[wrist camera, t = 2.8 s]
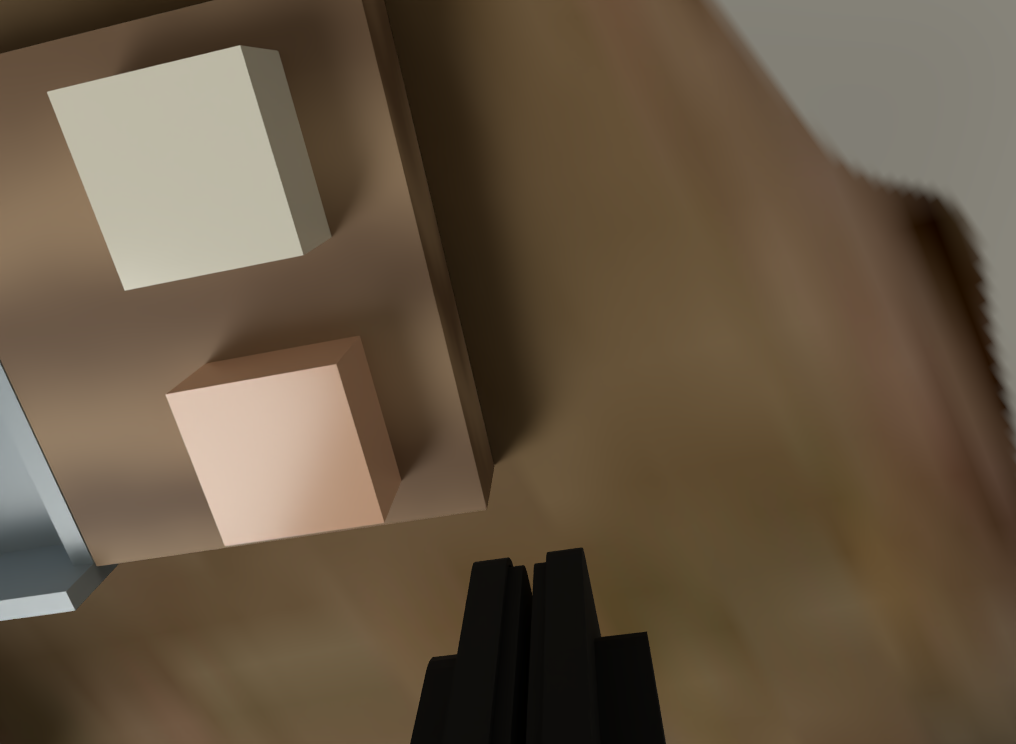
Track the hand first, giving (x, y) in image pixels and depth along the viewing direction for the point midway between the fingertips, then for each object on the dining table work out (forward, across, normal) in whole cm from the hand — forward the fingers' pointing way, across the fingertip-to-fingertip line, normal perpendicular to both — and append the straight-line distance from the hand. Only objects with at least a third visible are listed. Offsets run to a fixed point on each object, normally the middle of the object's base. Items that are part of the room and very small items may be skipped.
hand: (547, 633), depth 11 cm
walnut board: (+15, +10, -3) cm, 18 cm away
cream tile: (+12, +8, -7) cm, 16 cm away
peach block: (+12, +8, +1) cm, 14 cm away
